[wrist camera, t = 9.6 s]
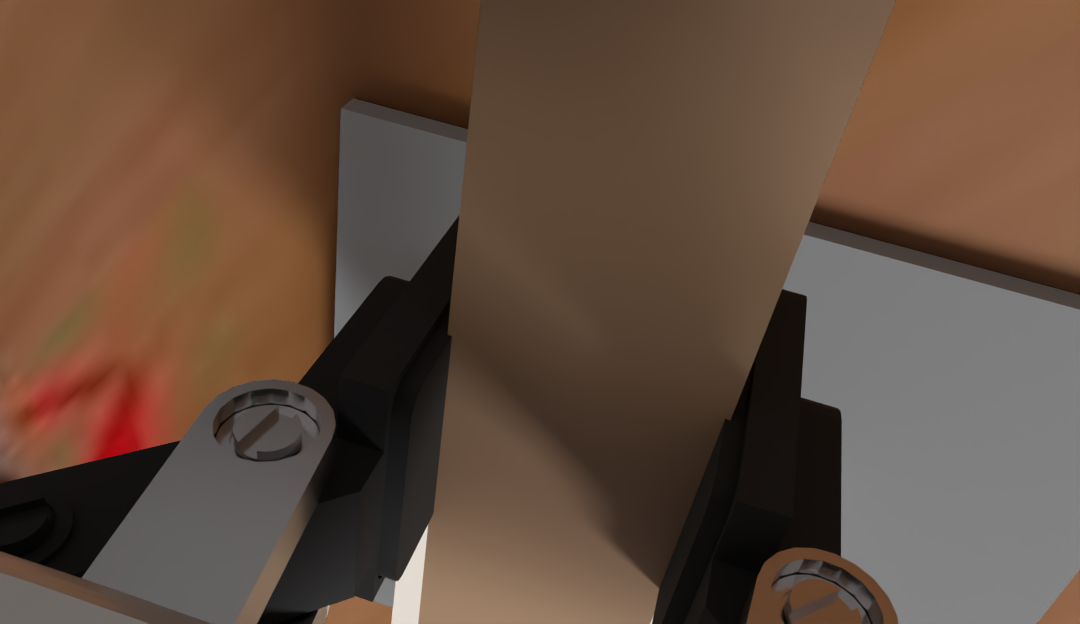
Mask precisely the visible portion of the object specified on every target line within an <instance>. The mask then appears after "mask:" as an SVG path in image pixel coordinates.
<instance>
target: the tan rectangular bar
mask: <svg viewBox="0 0 1080 624" xmlns="http://www.w3.org/2000/svg"><path fill="white" fill-rule="evenodd" d="M895 2H896V0H481V6H480V16H479V26H478V36H477V46H476V55H475V65H474V75H473V85H472V95H471V105H470V115H469V125H468V135H467V145H466V155H465V165H464V174H463V184H462V194H461V204H460V214H459V224H458V234H457V244H456V254H455V264H454V274H453V284H452V294H451V303H450V313H449V323H448V333H447V335H450V336H452V342H451V352H450V361H449V371H448V380H447V390H446V399H445V409H444V418H443V427H442V437H441V446H440V456H439V465H438V475H437V484H436V494H435V503H434V513H433V516H432V518H431V520H430V522H429V524H428V532H427V541H426V551H425V561H424V571H423V581H422V591H421V601H420V611H419V621H418V624H650V623H651V621H652V618H653V615H654V611H655V607H656V602H657V597H658V592H659V588H660V585H661V583H662V580H663V578H664V575H665V573H666V570H667V567H668V565H669V562H670V560H671V557H672V555H673V552H674V549H675V547H676V544H677V542H678V539H679V537H680V534H681V531H682V529H683V526H684V524H685V521H686V519H687V516H688V513H689V511H690V508H691V506H692V503H693V500H694V498H695V495H696V493H697V490H698V488H699V485H700V482H701V480H702V477H703V475H704V472H705V470H706V467H707V464H708V462H709V459H710V457H711V454H712V452H713V449H714V446H715V444H716V441H717V439H718V436H719V434H720V431H721V428H722V426H723V423H724V421H725V419H727V420H731V418H732V415H733V412H734V410H735V407H736V405H737V402H738V400H739V397H740V395H741V392H742V390H743V387H744V385H745V382H746V380H747V377H748V374H749V372H750V369H751V367H752V364H753V362H754V359H755V357H756V354H757V352H758V349H759V347H760V344H761V341H762V339H763V336H764V334H765V331H766V329H767V326H768V324H769V321H770V319H771V316H772V314H773V311H774V308H775V306H776V303H777V301H778V298H779V296H780V293H781V291H782V288H783V286H784V283H785V281H786V278H787V276H788V273H789V270H790V268H791V265H792V263H793V260H794V258H795V255H796V253H797V250H798V248H799V245H800V243H801V240H802V237H803V235H804V232H805V230H806V227H807V225H808V222H809V220H810V217H811V215H812V212H813V210H814V207H815V204H816V202H817V199H818V197H819V194H820V192H821V189H822V187H823V184H824V182H825V179H826V177H827V174H828V171H829V169H830V166H831V164H832V161H833V159H834V156H835V154H836V151H837V149H838V146H839V144H840V141H841V139H842V136H843V133H844V131H845V128H846V126H847V123H848V121H849V118H850V116H851V113H852V111H853V108H854V106H855V103H856V100H857V98H858V95H859V93H860V90H861V88H862V85H863V83H864V80H865V78H866V75H867V73H868V70H869V67H870V65H871V62H872V60H873V57H874V55H875V52H876V50H877V47H878V45H879V42H880V40H881V37H882V35H883V32H884V29H885V27H886V24H887V22H888V19H889V17H890V14H891V12H892V9H893V7H894V4H895Z"/></svg>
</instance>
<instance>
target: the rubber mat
mask: <svg viewBox="0 0 1080 624" xmlns="http://www.w3.org/2000/svg"><path fill="white" fill-rule="evenodd" d="M467 135H468V129H465V128H461V127H458V126H454V125H450V124H447V123H443V122H439V121H435V120H432V119H428V118H424V117H421V116H417V115H413V114H410V113H406V112H402V111H399V110H395V109H391V108H387V107H384V106H380V105H376V104H373V103H369V102H365V101H362V100H358V99H354V98H353V99H352V100H350V101H349V102H348V103H347V104H346V105H344V106H343V107H342V108H341V120H340V154H339V188H338V222H337V256H336V290H335V324H334V338H335V337H336V335H337V334H338V333H339V332H340V330H341V329H342V328H343V327H344V325H345V324H346V323H347V322H348V320H349V319H350V318H351V317H352V315H353V314H354V313H355V312H356V310H357V309H358V308H359V307H360V305H361V304H362V303H363V302H364V300H365V299H366V298H367V297H368V295H369V294H370V293H371V292H372V290H373V289H374V288H375V287H376V285H377V284H378V283H379V282H380V281H381V280H382V279H383V278H384V277H386V276H393V277H397V278H400V279H403V280H407V281H410V280H411V279H412V278H413V276H414V275H415V274H416V272H417V271H418V270H419V268H420V267H421V265H422V264H423V263H424V261H425V260H426V259H427V257H428V256H429V255H430V253H431V252H432V251H433V249H434V248H435V247H436V245H437V244H438V243H439V241H440V240H441V239H442V237H443V236H444V235H445V233H446V232H447V231H448V229H449V228H450V227H451V225H452V224H453V223H454V221H455V220H456V219H457V217H458V216H459V214H460V204H461V194H462V184H463V174H464V165H465V155H466V145H467ZM782 289H784V290H788V291H791V292H795V293H798V294H802V295H805V296H807V309H806V324H805V340H804V356H803V371H802V387H801V397H802V398H805V399H808V400H812V401H815V402H818V403H822V404H825V405H829V406H832V407H835V408H839V410H840V411H841V418H842V473H841V557H842V558H844V559H846V560H848V561H850V562H852V563H854V564H856V565H857V566H858V567H860V568H861V569H862V570H863V571H865V572H866V573H867V574H868V575H870V576H871V577H872V578H873V579H874V580H875V581H876V582H877V583H878V585H879V586H880V587H881V588H882V589H883V591H884V592H885V593H886V594H887V596H888V597H889V599H890V601H891V603H892V605H893V607H894V610H895V612H896V614H897V616H898V624H1037V622H1038V621H1039V620H1040V618H1041V617H1042V616H1043V615H1044V613H1045V612H1046V611H1047V610H1048V608H1049V607H1050V606H1051V605H1052V603H1053V602H1054V601H1055V600H1056V598H1057V597H1058V596H1059V595H1060V593H1061V592H1062V591H1063V590H1064V588H1065V587H1066V586H1067V585H1068V583H1069V582H1070V581H1071V580H1072V578H1073V577H1074V576H1075V575H1076V573H1077V572H1078V571H1079V570H1080V295H1079V294H1075V293H1071V292H1068V291H1064V290H1060V289H1057V288H1053V287H1049V286H1045V285H1042V284H1038V283H1034V282H1031V281H1027V280H1023V279H1020V278H1016V277H1012V276H1008V275H1005V274H1001V273H997V272H994V271H990V270H986V269H983V268H979V267H975V266H972V265H968V264H964V263H960V262H957V261H953V260H949V259H946V258H942V257H938V256H935V255H931V254H927V253H923V252H920V251H916V250H912V249H909V248H905V247H901V246H898V245H894V244H890V243H886V242H883V241H879V240H875V239H872V238H868V237H864V236H861V235H857V234H853V233H850V232H846V231H842V230H838V229H835V228H831V227H827V226H824V225H820V224H816V223H813V222H808V225H807V227H806V230H805V232H804V235H803V237H802V240H801V243H800V245H799V248H798V250H797V253H796V255H795V258H794V260H793V263H792V265H791V268H790V270H789V273H788V276H787V278H786V281H785V283H784V286H783V288H782ZM395 583H396V581H394V580H391V579H388V578H385V579H384V581H383V583H382V585H381V587H380V589H379V590H378V592H377V594H376V596H375V598H374V600H373V601H375V602H378V603H381V604H384V605H387V606H389V607H392V608H393V603H394V593H395Z"/></svg>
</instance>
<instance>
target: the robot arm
mask: <svg viewBox="0 0 1080 624" xmlns="http://www.w3.org/2000/svg"><path fill="white" fill-rule="evenodd" d="M458 224H459V216H458V217H457V219H456V220H455V221H454V223H453V224H452V225H451V227H450V228H449V229H448V231H447V232H446V233H445V235H444V236H443V237H442V239H441V240H440V241H439V243H438V244H437V245H436V247H435V248H434V249H433V251H432V252H431V253H430V255H429V256H428V257H427V259H426V260H425V261H424V263H423V264H422V265H421V267H420V268H419V270H418V271H417V272H416V274H415V275H414V276H413V278H412V279H411V280H410V281H407V280H403V279H400V278H397V277H393V276H386V277H384V278H383V279H382V280H381V281H380V282H379V283H378V284H377V285H376V287H375V288H374V289H373V290H372V292H371V293H370V294H369V295H368V297H367V298H366V299H365V300H364V302H363V303H362V304H361V305H360V307H359V308H358V309H357V310H356V312H355V313H354V314H353V315H352V317H351V318H350V319H349V320H348V322H347V323H346V324H345V325H344V327H343V328H342V329H341V330H340V332H339V333H338V334H337V335H336V337H335V338H334V339H333V340H332V342H331V343H330V344H329V345H328V347H327V348H326V349H325V350H324V352H323V353H322V354H321V355H320V357H319V358H318V359H317V361H316V362H315V363H314V364H313V366H312V367H311V368H310V369H309V371H308V372H307V373H306V374H305V376H304V377H303V378H302V379H301V381H300V382H299V383H295V382H290V381H282V380H261V381H252V382H248V383H245V384H241V385H238V386H234V387H232V388H230V389H229V390H227V391H225V392H223V393H221V394H220V395H218V396H216V397H215V398H214V399H213V400H212V401H211V402H210V403H209V404H208V405H207V406H206V407H205V408H204V410H203V411H202V412H201V414H200V415H199V416H198V418H197V419H196V421H195V422H194V423H193V425H192V426H191V427H190V429H189V430H188V432H187V433H186V434H185V436H184V437H183V439H182V440H181V441H177V442H173V443H168V444H164V445H160V446H156V447H152V448H147V449H143V450H139V451H135V452H131V453H126V454H122V455H118V456H114V457H109V458H105V459H101V460H97V461H93V462H88V463H84V464H80V465H76V466H72V467H67V468H63V469H59V470H55V471H51V472H46V473H42V474H38V475H34V476H29V477H25V478H21V479H17V480H13V481H8V482H4V483H1V484H0V624H324V623H325V621H326V619H327V615H328V610H329V606H330V605H332V604H335V603H338V602H341V601H343V600H346V599H349V598H352V597H354V596H357V597H360V598H363V599H366V600H369V601H371V602H373V600H374V598H375V596H376V594H377V592H378V590H379V589H380V587H381V585H382V583H383V581H384V579H385V578H388V579H391V580H394V581H399V579H400V578H401V577H402V575H403V573H404V571H405V569H406V567H407V565H408V563H409V561H410V559H411V557H412V555H413V553H414V551H415V549H416V547H417V545H418V544H419V542H420V540H421V538H422V536H423V534H424V532H425V530H426V528H427V526H428V524H429V522H430V520H431V518H432V516H433V513H434V503H435V494H436V484H437V475H438V465H439V456H440V446H441V437H442V427H443V418H444V409H445V399H446V390H447V380H448V371H449V361H450V352H451V342H452V336H450V335H447V333H448V323H449V313H450V303H451V294H452V284H453V274H454V264H455V254H456V244H457V234H458ZM806 309H807V296H805V295H802V294H798V293H795V292H791V291H788V290H784V289H782V291H781V293H780V296H779V298H778V301H777V303H776V306H775V308H774V311H773V314H772V316H771V319H770V321H769V324H768V326H767V329H766V331H765V334H764V336H763V339H762V341H761V344H760V347H759V349H758V352H757V354H756V357H755V359H754V362H753V364H752V367H751V369H750V372H749V374H748V377H747V380H746V382H745V385H744V387H743V390H742V392H741V395H740V397H739V400H738V402H737V405H736V407H735V410H734V412H733V415H732V418H731V420H727V419H725V421H724V423H723V426H722V428H721V431H720V434H719V436H718V439H717V441H716V444H715V446H714V449H713V452H712V454H711V457H710V459H709V462H708V464H707V467H706V470H705V472H704V475H703V477H702V480H701V482H700V485H699V488H698V490H697V493H696V495H695V498H694V500H693V503H692V506H691V508H690V511H689V513H688V516H687V519H686V521H685V524H684V526H683V529H682V531H681V534H680V537H679V539H678V542H677V544H676V547H675V549H674V552H673V555H672V557H671V560H670V562H669V565H668V567H667V570H666V573H665V575H664V578H663V580H662V583H661V585H660V588H659V592H658V597H657V602H656V607H655V611H654V616H653V621H652V624H898V616H897V614H896V612H895V610H894V607H893V605H892V603H891V601H890V599H889V597H888V596H887V594H886V593H885V592H884V591H883V589H882V588H881V587H880V586H879V585H878V583H877V582H876V581H875V580H874V579H873V578H872V577H871V576H870V575H868V574H867V573H866V572H865V571H863V570H862V569H861V568H860V567H858V566H857V565H856V564H854V563H852V562H850V561H848V560H846V559H844V558H842V557H841V473H842V418H841V411H840V410H839V408H835V407H832V406H829V405H825V404H822V403H818V402H815V401H812V400H808V399H805V398H802V397H801V387H802V371H803V356H804V340H805V324H806Z"/></svg>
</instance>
